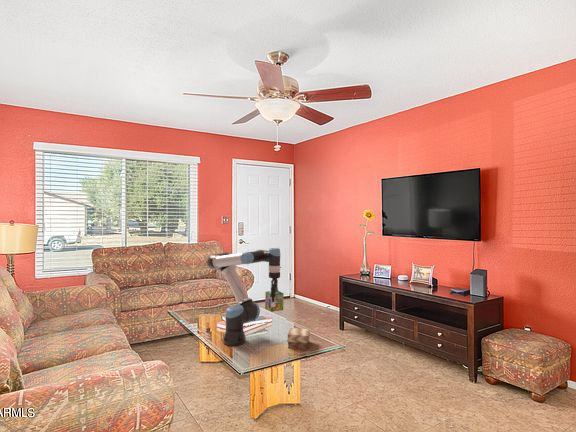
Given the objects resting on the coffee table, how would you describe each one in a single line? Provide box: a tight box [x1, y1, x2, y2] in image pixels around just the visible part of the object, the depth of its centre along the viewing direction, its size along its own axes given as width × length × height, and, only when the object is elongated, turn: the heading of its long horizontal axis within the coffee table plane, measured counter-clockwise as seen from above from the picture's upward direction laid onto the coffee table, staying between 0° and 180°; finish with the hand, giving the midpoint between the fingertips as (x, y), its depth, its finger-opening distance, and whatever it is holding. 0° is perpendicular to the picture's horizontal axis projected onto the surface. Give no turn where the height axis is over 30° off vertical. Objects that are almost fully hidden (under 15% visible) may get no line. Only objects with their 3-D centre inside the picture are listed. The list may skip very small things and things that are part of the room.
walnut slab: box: [287, 339, 310, 350], centre depth 232 cm, size 13×13×4 cm
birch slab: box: [287, 327, 311, 343], centre depth 232 cm, size 13×13×4 cm
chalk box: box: [264, 287, 284, 313], centre depth 233 cm, size 9×9×15 cm
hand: (274, 304), depth 233 cm, fingers closed on chalk box, 12 cm apart
